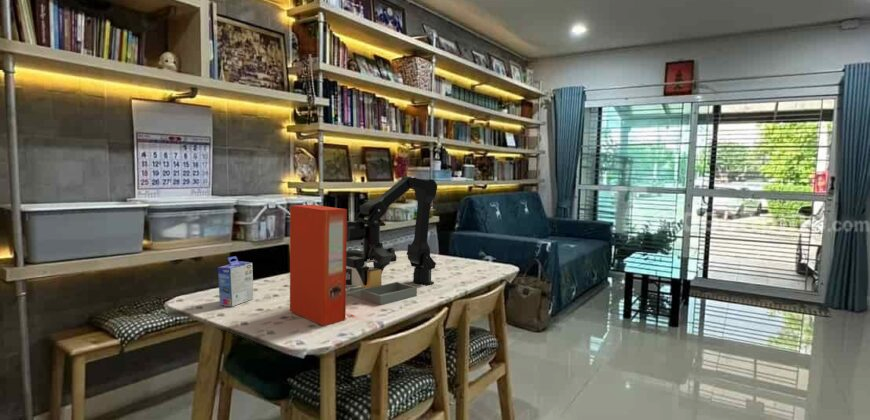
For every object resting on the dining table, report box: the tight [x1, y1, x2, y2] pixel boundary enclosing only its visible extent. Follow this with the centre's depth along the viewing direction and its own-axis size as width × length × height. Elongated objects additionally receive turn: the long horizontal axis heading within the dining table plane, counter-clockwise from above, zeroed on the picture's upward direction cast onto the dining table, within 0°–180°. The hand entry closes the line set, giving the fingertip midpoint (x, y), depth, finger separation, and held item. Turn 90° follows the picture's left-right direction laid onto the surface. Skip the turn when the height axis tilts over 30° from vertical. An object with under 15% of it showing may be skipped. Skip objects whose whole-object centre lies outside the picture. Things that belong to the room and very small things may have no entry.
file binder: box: [289, 204, 348, 326], centre depth 136 cm, size 8×17×32 cm, turn 46°
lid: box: [346, 286, 367, 299], centre depth 163 cm, size 16×10×2 cm, turn 137°
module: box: [361, 266, 383, 288], centre depth 162 cm, size 5×5×6 cm
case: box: [360, 281, 418, 306], centre depth 156 cm, size 16×11×4 cm, turn 137°
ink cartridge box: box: [217, 255, 254, 308], centre depth 148 cm, size 10×6×14 cm, turn 161°
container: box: [346, 248, 363, 288], centre depth 174 cm, size 8×8×13 cm
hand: (371, 283), depth 163 cm, fingers closed on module, 5 cm apart
